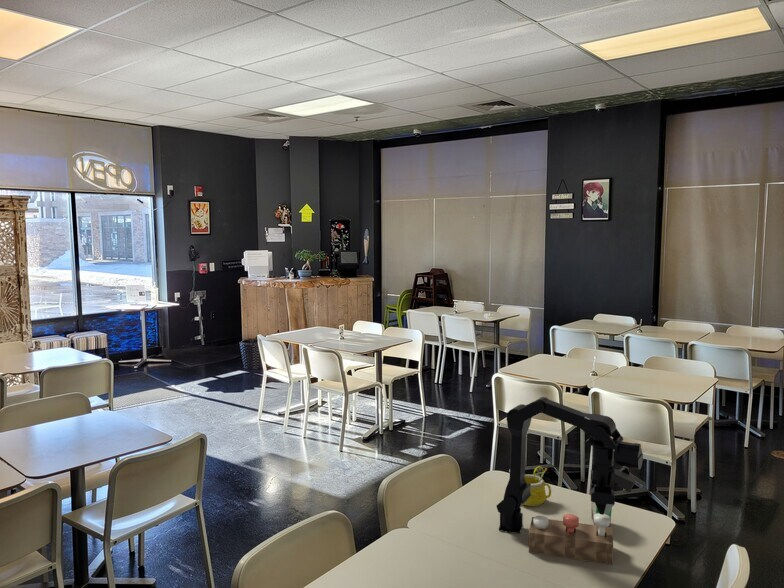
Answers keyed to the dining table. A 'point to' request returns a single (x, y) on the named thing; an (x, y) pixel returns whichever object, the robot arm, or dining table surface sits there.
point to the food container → (607, 511)
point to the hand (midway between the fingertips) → (601, 513)
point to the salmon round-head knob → (570, 522)
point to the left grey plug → (540, 522)
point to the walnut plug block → (572, 542)
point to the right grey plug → (601, 523)
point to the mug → (537, 488)
